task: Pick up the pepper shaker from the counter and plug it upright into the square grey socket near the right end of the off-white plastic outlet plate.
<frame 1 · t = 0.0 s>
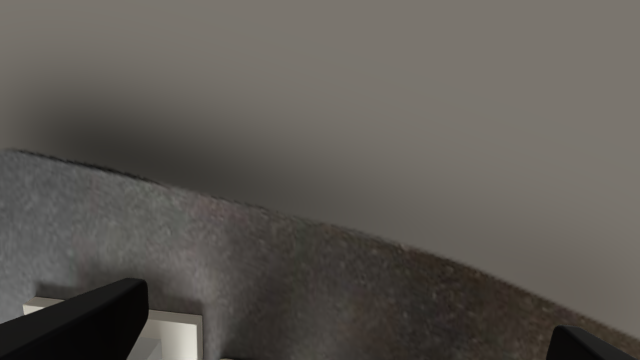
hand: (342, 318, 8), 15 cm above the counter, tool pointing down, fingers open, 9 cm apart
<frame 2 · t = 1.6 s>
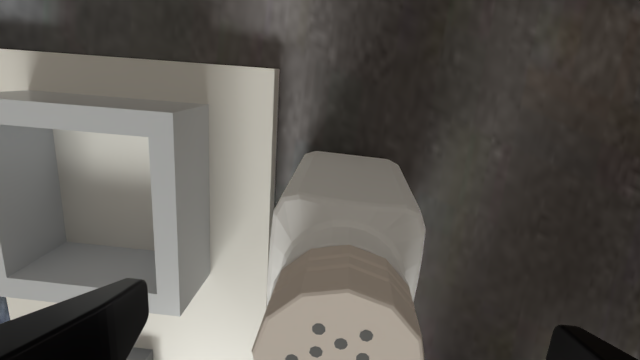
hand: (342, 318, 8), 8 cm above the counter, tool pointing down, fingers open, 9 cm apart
outlet plate: (142, 263, 18), on the counter
pepper shaker: (346, 197, 16), on the counter
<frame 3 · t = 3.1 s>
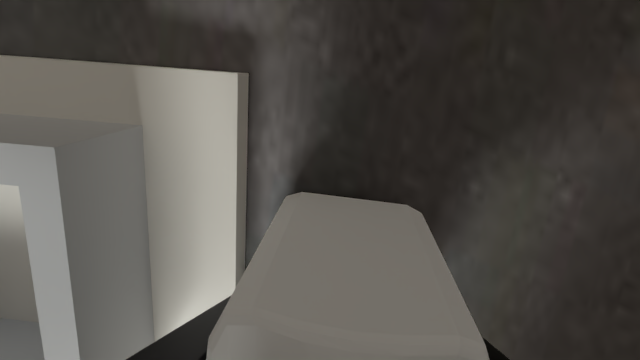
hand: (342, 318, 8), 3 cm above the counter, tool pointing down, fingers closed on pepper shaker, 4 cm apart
outlet plate: (68, 336, 13), on the counter
pepper shaker: (345, 252, 12), on the counter, touching gripper
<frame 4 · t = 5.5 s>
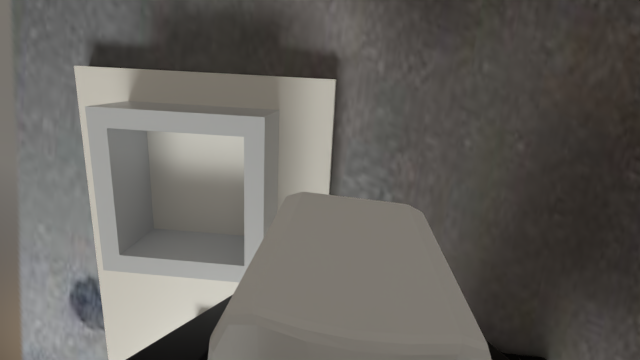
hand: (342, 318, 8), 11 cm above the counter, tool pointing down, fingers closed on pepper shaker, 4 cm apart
outlet plate: (214, 246, 21), on the counter
pepper shaker: (346, 252, 12), point 8 cm above the counter, touching gripper
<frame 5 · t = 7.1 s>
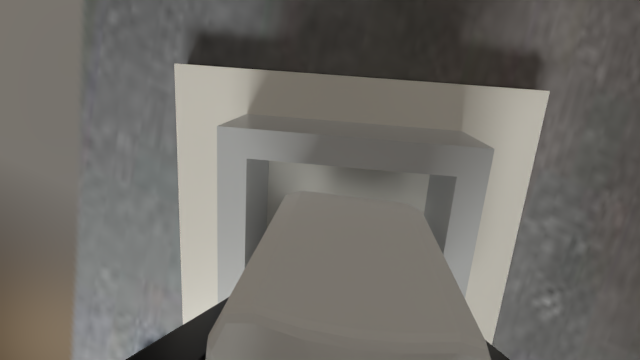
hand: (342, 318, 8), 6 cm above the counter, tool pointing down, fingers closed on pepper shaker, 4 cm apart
outlet plate: (335, 303, 16), on the counter
pepper shaker: (345, 251, 12), point 3 cm above the counter, touching gripper
when the fingers open (5 cm above the counter, at t = 8.0 s): pepper shaker drops 1 cm, resting on outlet plate.
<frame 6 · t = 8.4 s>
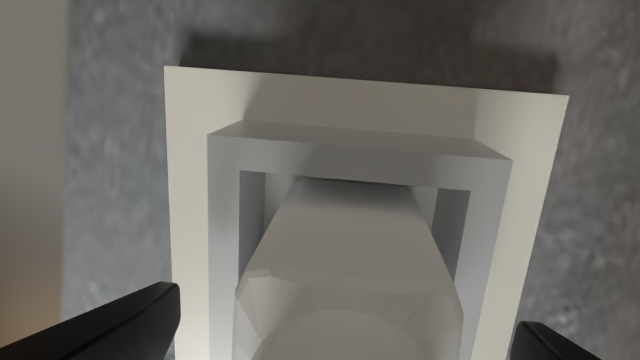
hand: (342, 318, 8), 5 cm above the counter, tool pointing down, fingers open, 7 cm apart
outlet plate: (336, 320, 15), on the counter
pepper shaker: (347, 232, 13), point 1 cm above the counter, touching outlet plate
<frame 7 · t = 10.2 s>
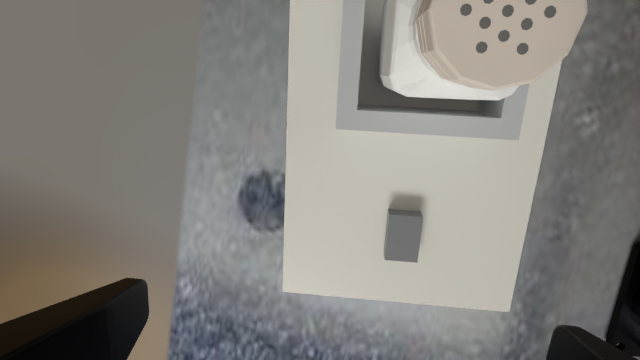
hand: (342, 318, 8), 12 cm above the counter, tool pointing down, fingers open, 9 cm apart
outlet plate: (410, 131, 19), on the counter
pepper shaker: (424, 44, 17), point 1 cm above the counter, touching outlet plate
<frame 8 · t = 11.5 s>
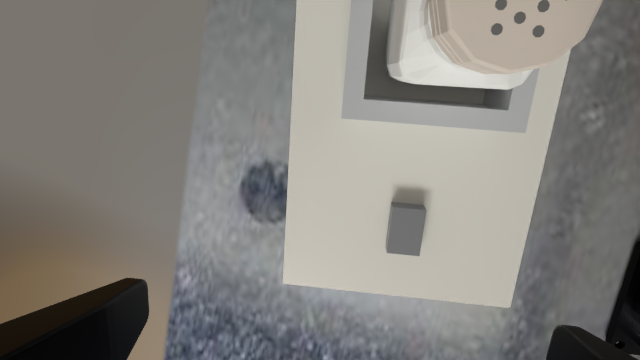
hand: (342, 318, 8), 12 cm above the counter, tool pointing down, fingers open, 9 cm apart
outlet plate: (414, 124, 19), on the counter
pepper shaker: (431, 35, 17), point 1 cm above the counter, touching outlet plate
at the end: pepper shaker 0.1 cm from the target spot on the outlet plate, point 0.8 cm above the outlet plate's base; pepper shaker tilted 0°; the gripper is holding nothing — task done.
